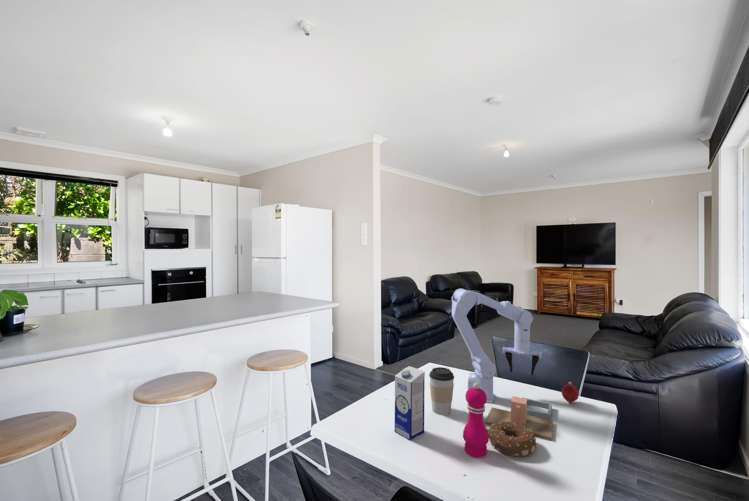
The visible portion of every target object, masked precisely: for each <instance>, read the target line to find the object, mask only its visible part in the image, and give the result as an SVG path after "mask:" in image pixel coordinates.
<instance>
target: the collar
mask: <svg viewBox="0 0 749 501" xmlns="http://www.w3.org/2000/svg"><path fill="white" fill-rule="evenodd" d="M523 398H524V399H527V406H528V405H529V406H532V407H533V406H534V407H539V408H543V409H547V412H545V411H539V410H534V409H531V408H530V409H529V408H527V415H529V416H533V417H538V418H542V419H547V420H551V421H552V413H553V411H552V410H553V403H551V402H547V401H541V400H537V399H531V398H528V397H527V398H526V397H523Z"/></svg>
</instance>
